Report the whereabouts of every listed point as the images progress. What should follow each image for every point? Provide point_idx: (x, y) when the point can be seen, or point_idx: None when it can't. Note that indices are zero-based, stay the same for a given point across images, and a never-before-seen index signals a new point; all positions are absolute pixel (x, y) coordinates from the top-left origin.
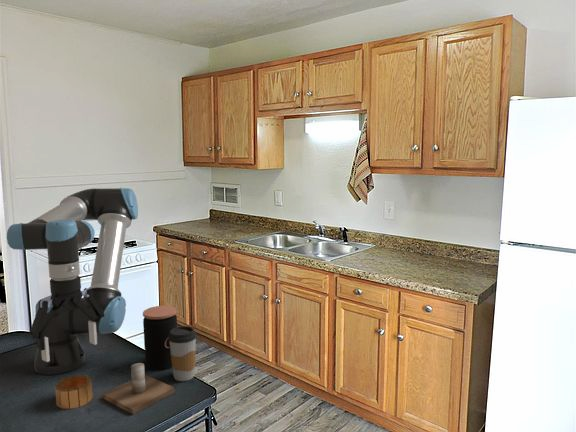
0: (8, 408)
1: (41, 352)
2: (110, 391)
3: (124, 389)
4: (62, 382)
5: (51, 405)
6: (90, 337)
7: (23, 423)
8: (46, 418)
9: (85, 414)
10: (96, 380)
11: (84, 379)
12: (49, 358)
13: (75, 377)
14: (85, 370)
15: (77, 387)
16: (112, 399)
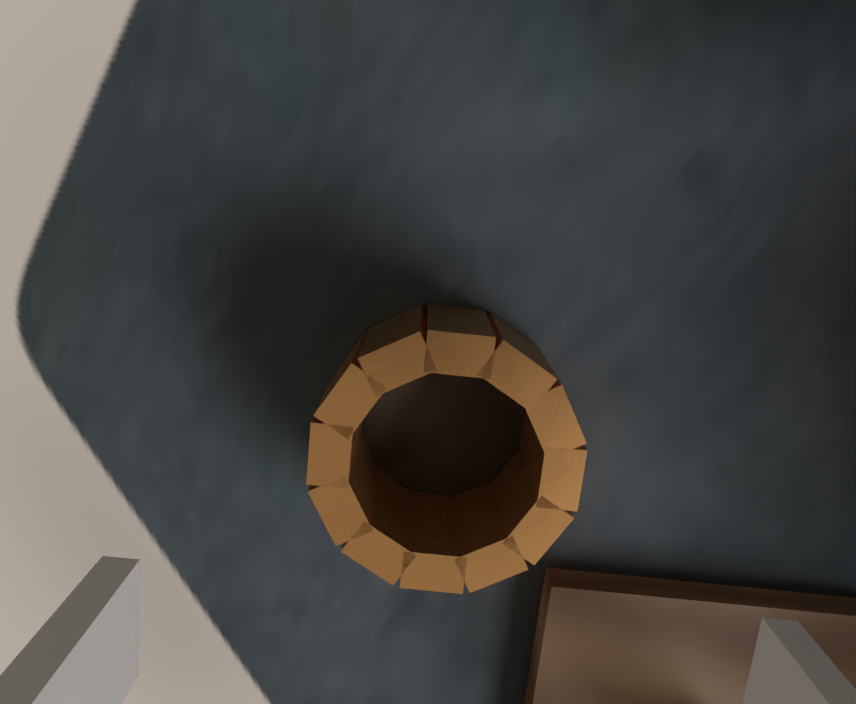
0: (121, 104)
1: (53, 616)
2: (596, 608)
3: (660, 663)
4: (405, 380)
5: (314, 344)
6: (795, 700)
7: (94, 385)
8: (208, 458)
9: (366, 620)
10: (710, 316)
11: (539, 475)
12: (120, 699)
13: (519, 396)
14: (803, 78)
15: (416, 553)
16: (534, 684)
